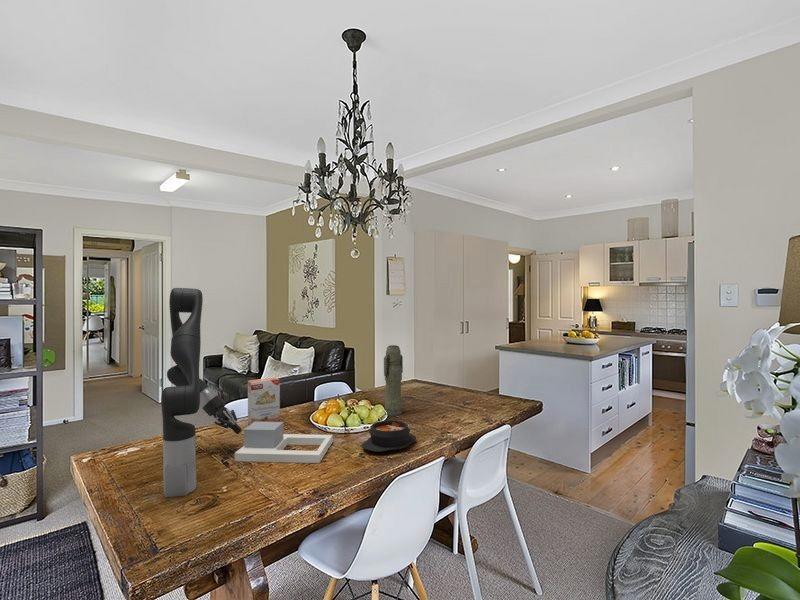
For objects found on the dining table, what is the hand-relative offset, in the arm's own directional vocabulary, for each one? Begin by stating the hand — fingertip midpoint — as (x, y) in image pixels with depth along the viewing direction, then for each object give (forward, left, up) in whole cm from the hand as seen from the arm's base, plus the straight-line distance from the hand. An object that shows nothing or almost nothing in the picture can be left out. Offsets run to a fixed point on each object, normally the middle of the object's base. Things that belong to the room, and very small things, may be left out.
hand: (239, 432), depth 170 cm
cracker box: (+36, -5, -7) cm, 37 cm away
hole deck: (-5, -18, -7) cm, 20 cm away
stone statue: (+38, -69, -7) cm, 79 cm away
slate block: (-3, -10, -4) cm, 11 cm away
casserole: (-7, -59, -7) cm, 60 cm away
